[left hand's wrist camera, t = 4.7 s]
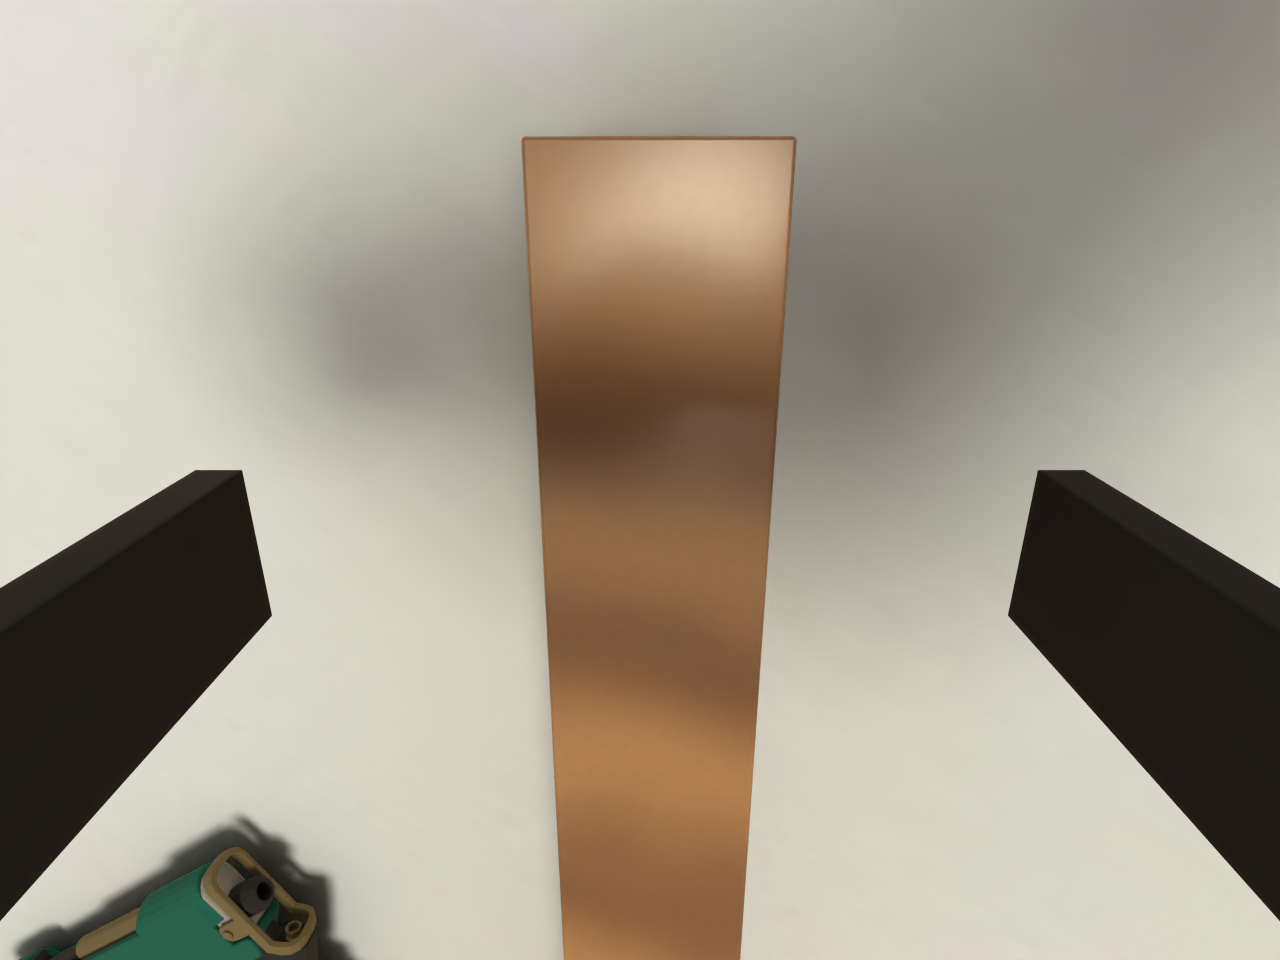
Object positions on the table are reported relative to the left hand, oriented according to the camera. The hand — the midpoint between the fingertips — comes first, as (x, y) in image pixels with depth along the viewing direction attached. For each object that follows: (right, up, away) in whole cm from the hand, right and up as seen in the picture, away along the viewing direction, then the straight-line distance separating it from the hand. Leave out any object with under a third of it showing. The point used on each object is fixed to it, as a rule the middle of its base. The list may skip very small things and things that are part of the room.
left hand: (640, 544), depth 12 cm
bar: (0, -18, +19) cm, 26 cm away
